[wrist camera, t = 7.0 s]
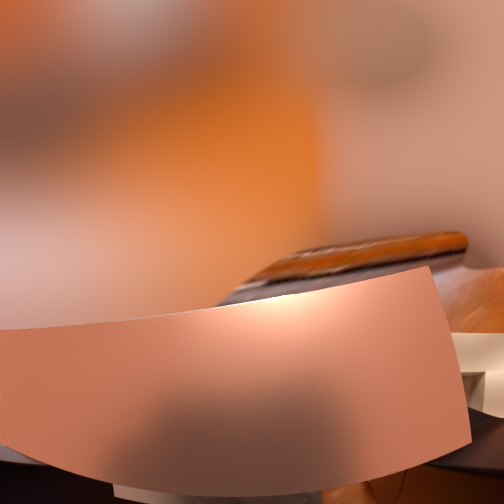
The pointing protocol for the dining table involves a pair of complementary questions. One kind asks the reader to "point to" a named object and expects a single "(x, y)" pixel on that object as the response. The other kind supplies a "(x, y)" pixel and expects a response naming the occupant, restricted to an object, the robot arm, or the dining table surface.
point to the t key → (243, 395)
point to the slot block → (482, 370)
